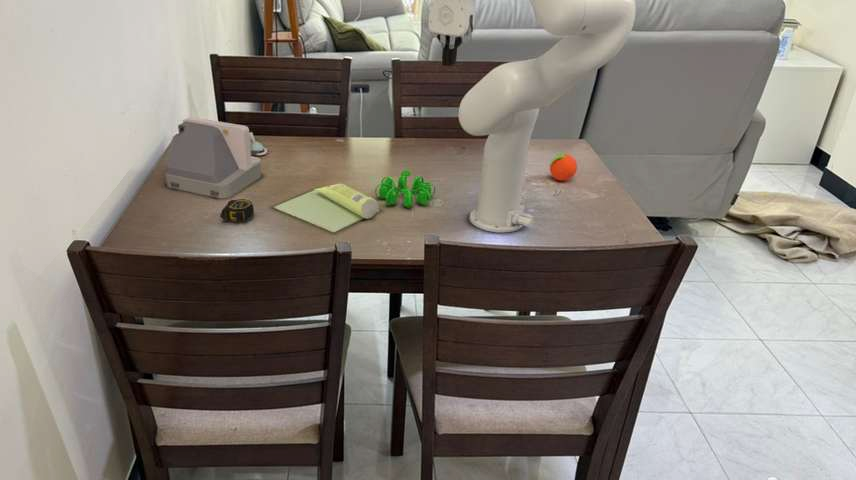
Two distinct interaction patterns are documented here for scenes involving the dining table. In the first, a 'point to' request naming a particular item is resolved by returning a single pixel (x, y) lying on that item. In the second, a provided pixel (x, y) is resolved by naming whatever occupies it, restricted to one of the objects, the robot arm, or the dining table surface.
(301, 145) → the dining table surface
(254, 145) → the pacifier
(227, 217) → the tape measure
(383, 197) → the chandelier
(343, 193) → the tube
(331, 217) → the mat
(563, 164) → the clementine
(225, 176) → the instant camera
